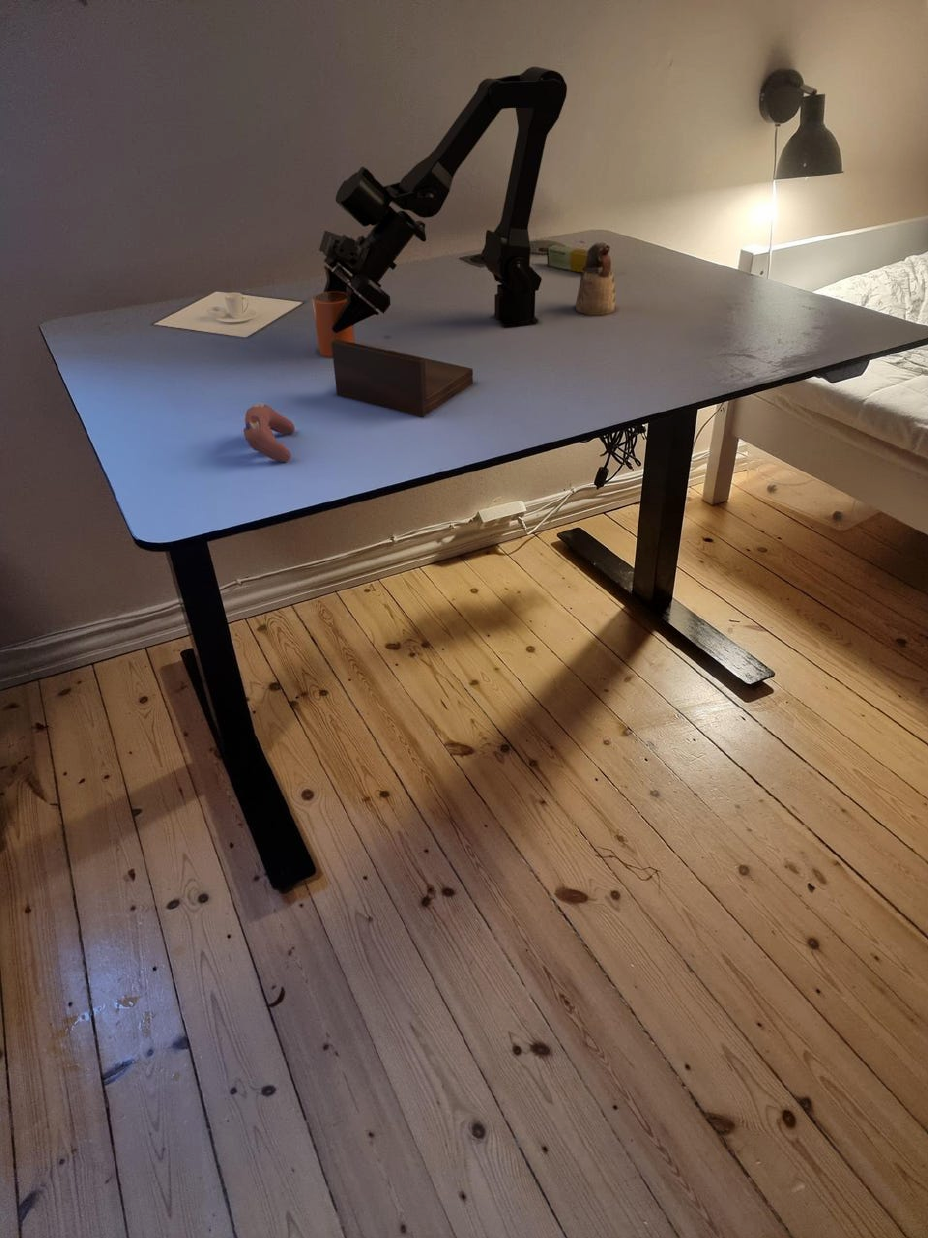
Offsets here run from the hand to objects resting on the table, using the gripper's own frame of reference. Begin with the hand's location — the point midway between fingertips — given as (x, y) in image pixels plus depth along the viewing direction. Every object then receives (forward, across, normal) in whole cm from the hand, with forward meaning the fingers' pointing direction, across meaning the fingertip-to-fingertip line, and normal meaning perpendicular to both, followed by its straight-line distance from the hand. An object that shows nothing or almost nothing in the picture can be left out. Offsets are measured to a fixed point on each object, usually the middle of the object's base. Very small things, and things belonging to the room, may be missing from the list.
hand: (325, 322), depth 148 cm
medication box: (-38, -22, +46) cm, 64 cm away
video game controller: (+16, +32, -9) cm, 36 cm away
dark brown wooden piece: (-1, +21, +8) cm, 22 cm away
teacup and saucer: (+12, -27, -4) cm, 30 cm away
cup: (+3, 0, +4) cm, 5 cm away
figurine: (-33, +1, +40) cm, 52 cm away
